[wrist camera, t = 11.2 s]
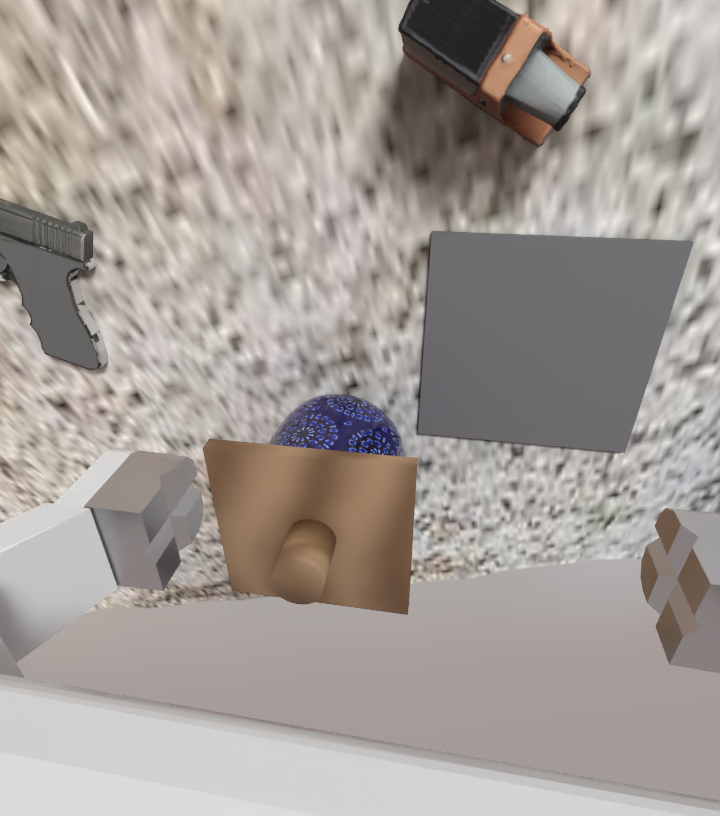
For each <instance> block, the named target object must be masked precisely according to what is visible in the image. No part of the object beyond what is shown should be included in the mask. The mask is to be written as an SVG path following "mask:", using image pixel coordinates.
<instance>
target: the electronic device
mask: <svg viewBox="0 0 720 816" xmlns="http://www.w3.org/2000/svg"><path fill="white" fill-rule="evenodd" d="M398 31H399V32H400V33H401V36H402V41H403V44H404V45H403V52H404V53H405V54H406V55H407V56H408V57H410V58H411V59H413V60H414V61H415V62H417V63H418V64H420V65H421V66H422V67H424V68H425V69H427V70H428V71H429V72H431V73H433V74H434V75H436V76H437V77H438V78H440V79H441V80H442V81H443V82H444V83H446V84H448V85H449V86H450V87H451V88H452V89H455V90H456V91H458V92H459V93H460V94H461V95H462V96H463V97H465V98H466V99H468V100H469V101H471V102H472V103H474V104H475V105H477V106H478V107H479V108H480V109H481V110H483V111H485V112H487V113H489V114H490V115H492V116H493V117H494V118H496V119H497V120H498V121H499V122H500V123H501V124H503V125H505V126H508V127H509V128H511V129H512V130H514V131H515V132H516V133H518V134H519V135H521V136H522V137H523V139H525V140H527V141H529V142H530V143H532V144H533V145H535V146H536V147H540V146H541V145H543V143H544V140H545V138H546V137H547V136H548V134H549V133H550V131H551V130H552V128H554V129H555V130H556V131H560V130H561V128H562V127H563V126H564V124H565V123H566V122H567V121H568V119H569V117H570V115H571V113H572V112H573V111H574V110H575V109H576V107H577V106H578V103H579V101H580V99H582V97H583V96H584V95H585V92H586V89H585V88H584V86H583V84H584V82H585V81H586V80H587V79H588V78H589V77H590V75H591V71H590V69H589V68H588V67H586V66H585V65H583V64H581V63H580V62H579V61H577V60H576V59H575V58H573V57H572V55H570V54H568V53H567V52H566V51H565V50H564V49H562V48H560V47H559V46H558V45H557V44H556V43H555V42H554V41H553V39H552V32H550V31H549V30H548V29H547V28H544V27H543V26H540V25H539V24H538V23H536V22H534V21H533V20H532V19H530V18H529V17H528V14H524V15H521V14H519V13H517V12H515V11H514V10H512V9H510V8H509V7H507V6H506V5H504V4H503V3H501V2H499V1H498V0H410V2H409V4H408V6H407V9H406V11H405V14H404V16H403V19H402V20H401V22H400V24H399V27H398Z"/></svg>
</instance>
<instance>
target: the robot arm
mask: <svg viewBox="0 0 720 816" xmlns="http://www.w3.org/2000/svg"><path fill="white" fill-rule="evenodd" d="M196 476H197V473H196V469H195V465H194V461H193V460H191V459H190V458H188V457H184V456H177V455H169V454H161V453H154V452H146V451H135V450H127V449H119V448H113V449H109V450H106V451H105V452H104V453H103V454H102V455H101V456H100V457H99V458H98V459H97V460H96V461H95V462H94V463H93V464H92V466H91V467H90V468H89V469H88V470H87V471H86V472H85V473H84V474H83V475H82V476H81V477H80V478H79V479H78V480H77V481H76V482H75V483H74V484H73V485H72V486H71V487H70V488H69V489H68V490H67V491H66V492H65V493H64V494H63V495H62V496H61V497H60V498H59V499H58V500H57V501H56V502H55V503H54V504H50V503H44V504H42V505H40V506H38V507H35V508H33V509H31V510H29V511H26V512H24V513H22V514H20V515H17V516H15V517H13V518H11V519H8V520H6V521H4V522H2V523H0V816H720V801H719V800H713V799H708V798H701V797H696V796H691V795H685V794H679V793H674V792H668V791H662V790H657V789H651V788H645V787H640V786H634V785H628V784H623V783H617V782H610V781H605V780H600V779H594V778H588V777H583V776H577V775H571V774H566V773H560V772H554V771H548V770H542V769H537V768H532V767H526V766H520V765H515V764H509V763H504V762H497V761H492V760H486V759H480V758H475V757H469V756H463V755H458V754H452V753H446V752H441V751H435V750H430V749H424V748H418V747H413V746H407V745H401V744H396V743H390V742H384V741H379V740H373V739H367V738H362V737H356V736H350V735H344V734H339V733H333V732H327V731H322V730H316V729H311V728H305V727H299V726H294V725H288V724H282V723H277V722H271V721H265V720H260V719H254V718H248V717H243V716H236V715H232V714H226V713H220V712H215V711H209V710H203V709H198V708H192V707H186V706H180V705H175V704H169V703H164V702H158V701H152V700H147V699H141V698H135V697H130V696H124V695H118V694H113V693H107V692H102V691H96V690H90V689H84V688H79V687H73V686H67V685H61V684H56V683H51V682H45V681H39V680H34V679H28V678H24V676H23V674H22V672H21V671H20V669H19V667H18V666H17V664H16V663H17V662H18V661H19V660H21V659H22V658H23V657H25V656H26V655H28V654H29V653H30V652H32V651H33V650H34V649H36V648H37V647H38V646H40V645H41V644H43V643H44V642H45V641H47V640H48V639H49V638H51V637H52V636H53V635H55V634H56V633H58V632H59V631H60V630H61V629H63V628H64V627H66V626H67V625H68V624H70V623H71V622H73V621H74V620H75V619H77V618H78V617H79V616H81V615H82V614H84V613H85V612H86V611H88V610H89V609H90V608H92V607H93V606H94V605H96V604H97V603H99V602H100V601H101V600H103V599H104V598H105V597H107V596H108V595H109V594H111V593H112V592H114V591H115V590H116V589H118V586H126V587H135V588H143V589H152V590H161V591H164V589H165V587H166V586H167V584H168V582H169V581H170V579H171V577H172V576H173V574H174V572H175V571H176V569H177V567H178V566H179V564H180V562H181V560H180V556H179V552H178V551H180V550H181V549H183V548H184V547H186V546H188V545H189V544H191V543H192V542H193V540H194V538H195V536H196V535H197V533H198V531H199V527H200V524H201V520H202V516H203V502H202V497H201V493H200V492H199V491H198V490H197V489H196V488H195V487H194V486H193V485H192V484H191V483H192V482H193V480H194V479H195V477H196ZM655 528H656V530H657V532H658V535H659V537H660V538H658V539H657V540H655V541H654V542H652V543H650V544H649V545H647V547H646V550H645V553H644V555H643V558H642V566H641V581H642V588H643V592H644V595H645V598H646V600H647V603H648V604H649V605H650V606H652V607H653V608H654V609H655V610H656V611H657V612H658V613H659V614H660V618H659V620H658V622H657V624H656V629H657V631H658V634H659V637H660V640H661V642H662V645H663V648H664V651H665V654H666V656H667V659H668V662H669V664H670V665H676V666H682V667H689V668H694V669H700V670H706V671H711V672H717V673H720V514H719V513H710V512H700V511H690V510H680V509H670V508H665V509H664V510H663V512H662V513H661V514H660V515H659V517H658V520H657V522H656V524H655Z"/></svg>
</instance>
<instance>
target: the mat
mask: <svg viewBox="0 0 720 816" xmlns="http://www.w3.org/2000/svg"><path fill="white" fill-rule="evenodd" d="M692 246H693V242H692V241H674V240H648V239H622V238H596V237H570V236H544V235H519V234H493V233H467V232H441V231H432V234H431V249H430V263H429V278H428V292H427V307H426V321H425V336H424V350H423V365H422V379H421V394H420V408H419V423H418V434H429V435H440V436H451V437H461V438H472V439H483V440H494V441H505V442H515V443H526V444H537V445H548V446H558V447H569V448H580V449H591V450H601V451H612V452H623V453H625V451H626V447H627V444H628V441H629V438H630V435H631V432H632V429H633V426H634V423H635V420H636V417H637V414H638V411H639V408H640V405H641V402H642V399H643V395H644V392H645V389H646V386H647V383H648V380H649V377H650V374H651V371H652V368H653V365H654V362H655V359H656V356H657V353H658V350H659V347H660V343H661V340H662V337H663V334H664V331H665V328H666V325H667V322H668V319H669V316H670V313H671V310H672V307H673V304H674V301H675V298H676V295H677V291H678V288H679V285H680V282H681V279H682V276H683V273H684V270H685V267H686V264H687V261H688V258H689V255H690V252H691V249H692Z"/></svg>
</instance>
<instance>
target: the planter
mask: <svg viewBox="0 0 720 816" xmlns="http://www.w3.org/2000/svg"><path fill="white" fill-rule="evenodd" d="M269 444H270V445H281V446H292V447H303V448H313V449H324V450H335V451H346V452H357V453H367V454H378V455H389V456H400V457H405V453H404V447H403V442H402V439H401V436H400V434H399V432H398V430H397V428H396V427H395V425H394V424H393V422H392V421H391V420H390V418H389V417H388V416H387V415H386V414H385V413H384V412H383V411H382V410H380V409H379V408H378V407H376V406H375V405H373V404H372V403H370V402H368V401H366V400H364V399H361V398H358V397H355V396H351V395H344V394H329V395H323V396H319V397H316V398H313V399H310V400H308V401H306V402H304V403H302V404H301V405H299V406H298V407H297V408H296V409H294V410H293V411H292V412H291V413H290V414H289V415H288V416H287V417H286V419H285V420H284V421H283V422H282V424H281V425H280V427H279V428H278V429H277V431H276V432H275V434H274V435H273V437H272V438H271V440H270V442H269Z"/></svg>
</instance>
